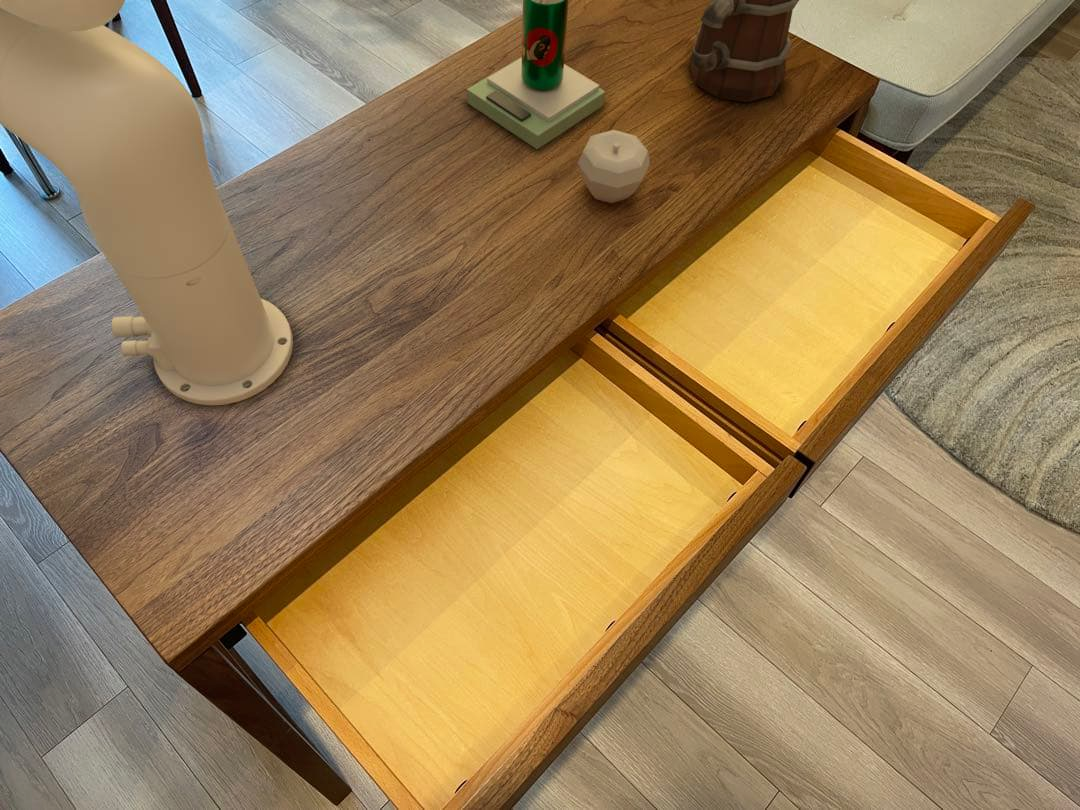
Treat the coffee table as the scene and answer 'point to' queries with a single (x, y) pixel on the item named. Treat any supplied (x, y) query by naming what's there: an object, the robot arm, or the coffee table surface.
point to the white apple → (613, 165)
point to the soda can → (543, 43)
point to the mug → (742, 48)
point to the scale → (535, 103)
